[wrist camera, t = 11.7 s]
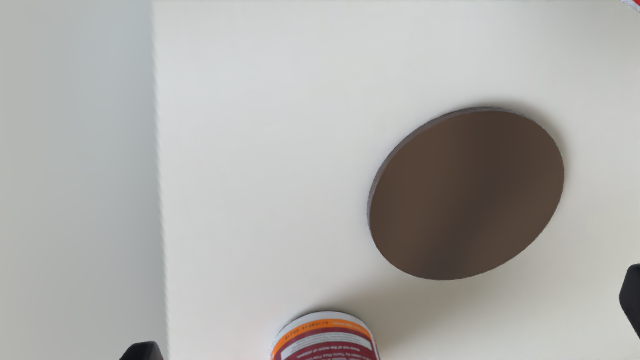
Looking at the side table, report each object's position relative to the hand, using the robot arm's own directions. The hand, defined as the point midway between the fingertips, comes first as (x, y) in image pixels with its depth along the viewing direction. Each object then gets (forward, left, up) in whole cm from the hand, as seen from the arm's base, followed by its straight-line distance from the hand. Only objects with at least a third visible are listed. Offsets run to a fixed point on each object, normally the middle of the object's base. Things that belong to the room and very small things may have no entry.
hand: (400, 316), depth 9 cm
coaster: (+7, -7, -13) cm, 16 cm away
